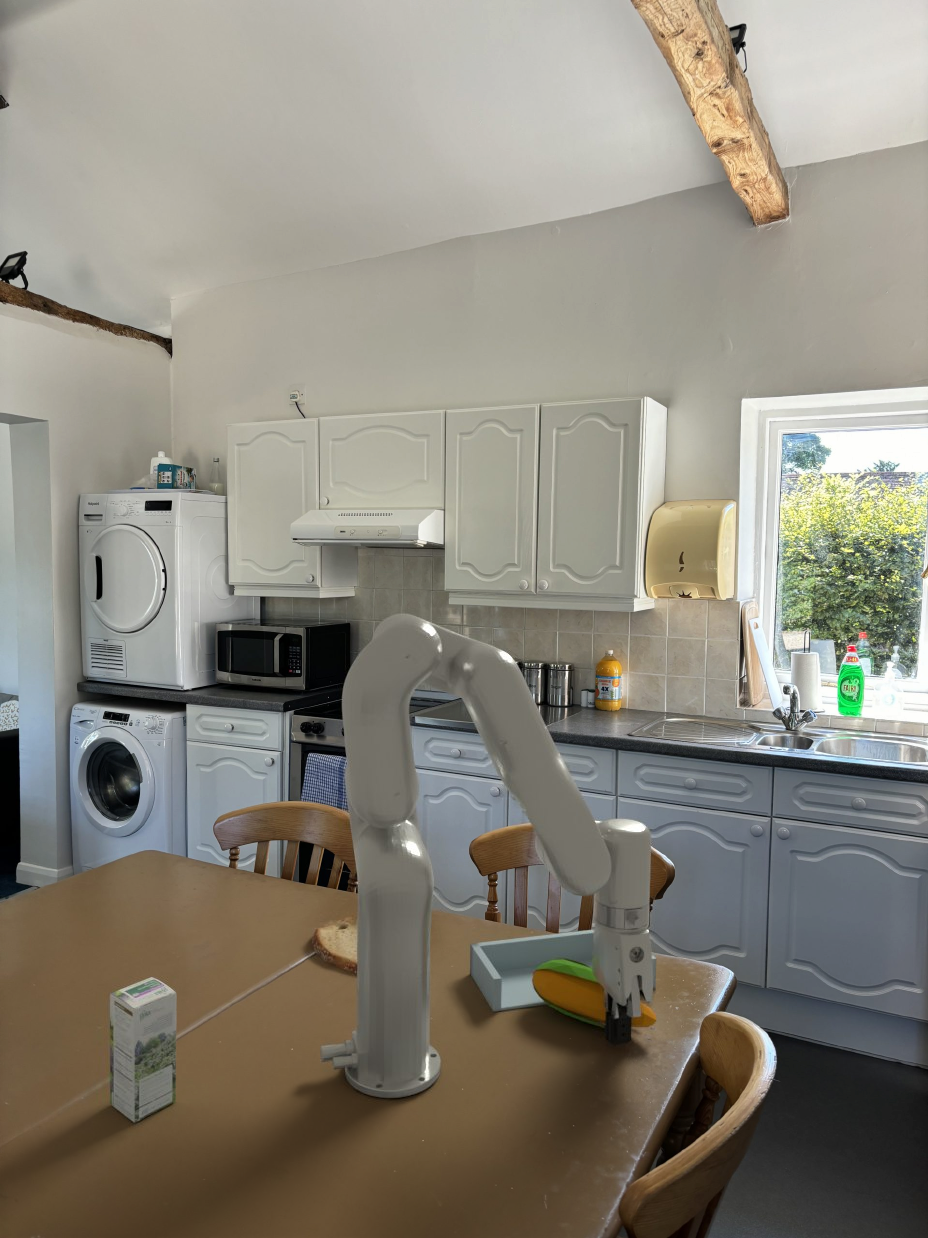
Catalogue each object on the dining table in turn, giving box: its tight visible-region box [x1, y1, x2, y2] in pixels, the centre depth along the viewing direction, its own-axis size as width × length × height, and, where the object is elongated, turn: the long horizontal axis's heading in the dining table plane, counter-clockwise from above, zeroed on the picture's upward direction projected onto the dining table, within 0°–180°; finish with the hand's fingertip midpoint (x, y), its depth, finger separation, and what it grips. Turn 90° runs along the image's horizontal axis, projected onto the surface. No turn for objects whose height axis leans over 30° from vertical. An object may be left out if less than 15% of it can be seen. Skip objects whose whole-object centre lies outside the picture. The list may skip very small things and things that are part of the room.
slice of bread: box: [311, 915, 358, 974], centre depth 149 cm, size 18×18×4 cm
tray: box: [469, 929, 657, 1013], centre depth 139 cm, size 27×12×5 cm, turn 106°
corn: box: [532, 959, 657, 1029], centre depth 127 cm, size 7×8×20 cm
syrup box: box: [109, 976, 177, 1124], centre depth 106 cm, size 6×6×14 cm
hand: (617, 1040), depth 119 cm, fingers closed
